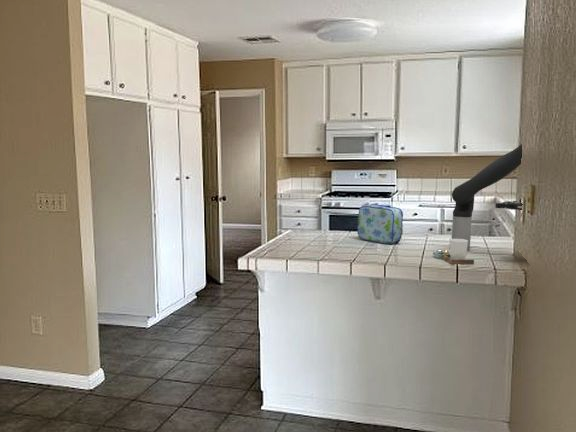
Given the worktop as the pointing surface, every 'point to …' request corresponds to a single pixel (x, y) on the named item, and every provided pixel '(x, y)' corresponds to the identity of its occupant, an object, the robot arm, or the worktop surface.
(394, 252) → the worktop surface
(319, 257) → the worktop surface
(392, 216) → the lunch box
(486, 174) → the robot arm
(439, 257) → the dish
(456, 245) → the white cup
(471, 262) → the cradle
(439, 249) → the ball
